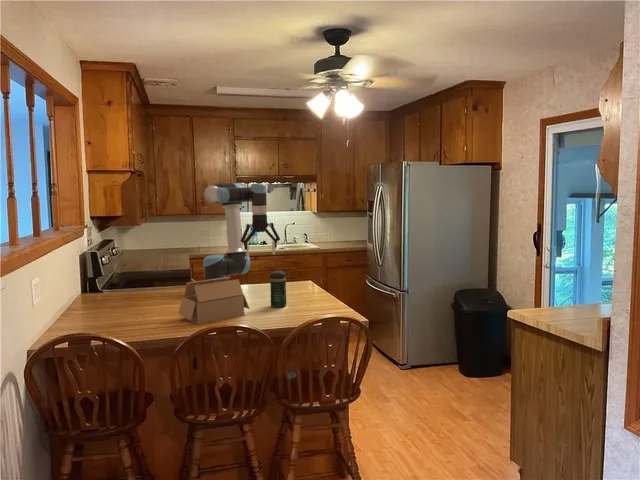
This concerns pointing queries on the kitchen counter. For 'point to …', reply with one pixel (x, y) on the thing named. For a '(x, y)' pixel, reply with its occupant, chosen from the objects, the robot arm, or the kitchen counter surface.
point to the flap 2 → (218, 290)
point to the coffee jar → (278, 289)
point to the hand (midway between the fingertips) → (260, 255)
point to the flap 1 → (190, 286)
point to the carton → (212, 309)
